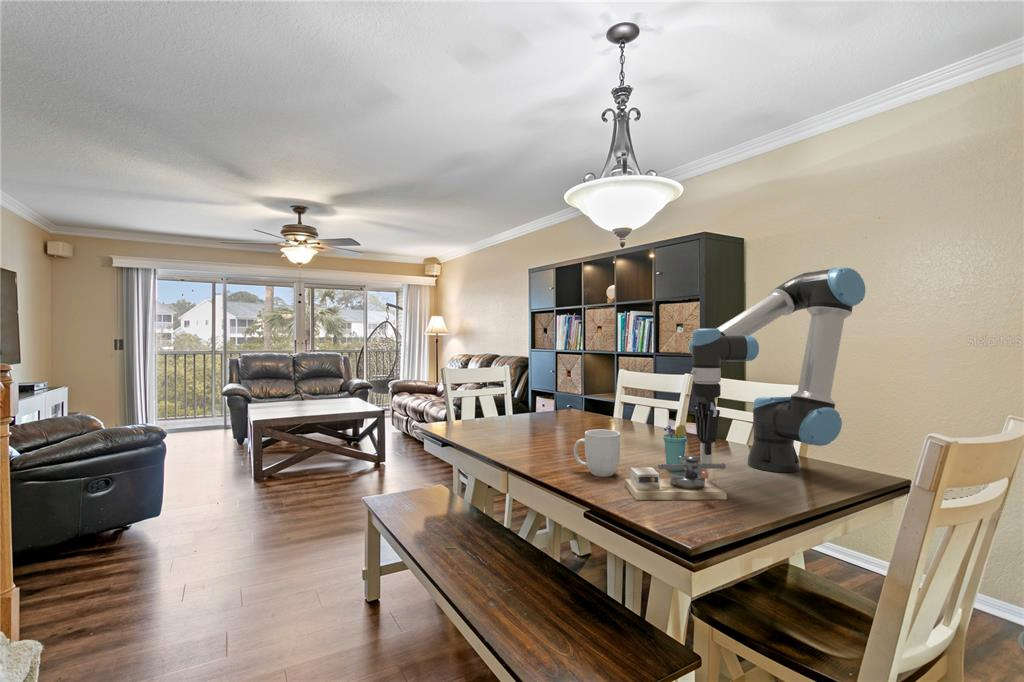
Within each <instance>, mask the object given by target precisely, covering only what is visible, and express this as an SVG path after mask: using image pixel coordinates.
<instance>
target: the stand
mask: <svg viewBox="0 0 1024 682" xmlns="http://www.w3.org/2000/svg"><path fill="white" fill-rule="evenodd" d="M624 486H625V488H626V489H627V490H628V492H629V493H630V494H631V496H632V497H633V498H634V499H635V501H656V500H657V501H659V500H660V501H661V500H663V501H667V500H670V501H672V500H673V501H676V500H677V501H678V500H683V501H684V500H692V501H693V500H694V501H695V500H697V501H699V500H727V498H728V495H727V494H728V493H727V491H726V490H725V489H723V488H722V487H721V486H720V485H718V484H716V483H715V482H714V481H712V480H710V479H709V478H706V479H705V487H703V488H700V489H685V488H680V487H676V486H673V485H672V484H671V483H670V478H660V473H659V472H657V471H656V470H655V469H654V468H653V467H649V466H648V467H643V466H642V467H630V478H625V479H624Z"/></svg>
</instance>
